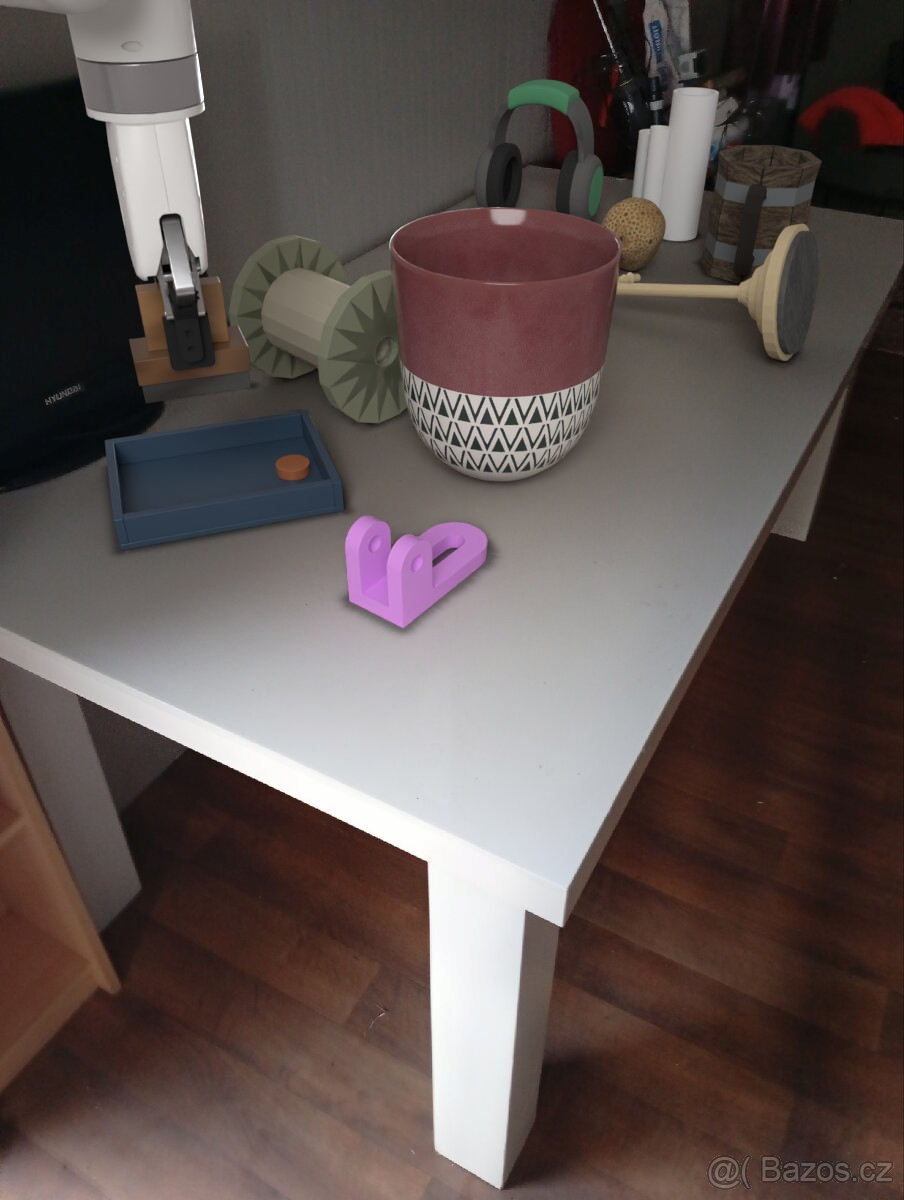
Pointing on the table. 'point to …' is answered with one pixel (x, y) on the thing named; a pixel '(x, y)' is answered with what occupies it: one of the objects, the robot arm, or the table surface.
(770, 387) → the table surface
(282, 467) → the orange disc
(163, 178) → the robot arm
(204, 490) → the tray
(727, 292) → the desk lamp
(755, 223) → the mug
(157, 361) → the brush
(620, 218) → the natural sponge
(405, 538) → the bracket
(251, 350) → the spool
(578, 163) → the headphones
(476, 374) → the planter
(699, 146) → the vase
